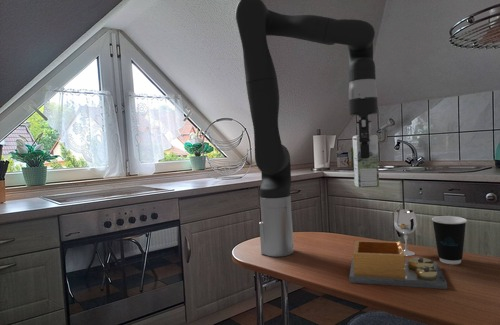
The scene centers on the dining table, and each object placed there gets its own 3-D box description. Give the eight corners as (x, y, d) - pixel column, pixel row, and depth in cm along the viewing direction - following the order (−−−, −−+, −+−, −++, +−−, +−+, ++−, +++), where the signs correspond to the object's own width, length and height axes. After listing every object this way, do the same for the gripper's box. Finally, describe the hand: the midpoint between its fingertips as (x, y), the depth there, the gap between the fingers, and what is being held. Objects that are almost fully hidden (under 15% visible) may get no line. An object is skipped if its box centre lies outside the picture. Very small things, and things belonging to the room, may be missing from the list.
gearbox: (349, 282, 82) (348, 254, 82) (352, 263, 94) (351, 239, 94) (447, 289, 75) (446, 259, 75) (436, 267, 88) (435, 241, 87)
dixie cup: (444, 267, 87) (442, 223, 87) (426, 257, 95) (425, 216, 95) (475, 265, 88) (474, 221, 87) (455, 255, 96) (454, 214, 95)
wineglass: (416, 257, 96) (414, 213, 95) (393, 255, 99) (391, 212, 98) (418, 251, 100) (417, 209, 100) (397, 249, 103) (395, 208, 103)
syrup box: (374, 184, 103) (372, 134, 102) (379, 187, 97) (377, 134, 96) (354, 185, 103) (352, 135, 102) (358, 188, 97) (356, 135, 96)
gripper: (350, 101, 106) (352, 156, 107) (347, 96, 93) (350, 159, 94) (376, 98, 104) (378, 155, 105) (377, 93, 90) (380, 158, 91)
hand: (365, 157), depth 99 cm, fingers closed on syrup box, 6 cm apart
